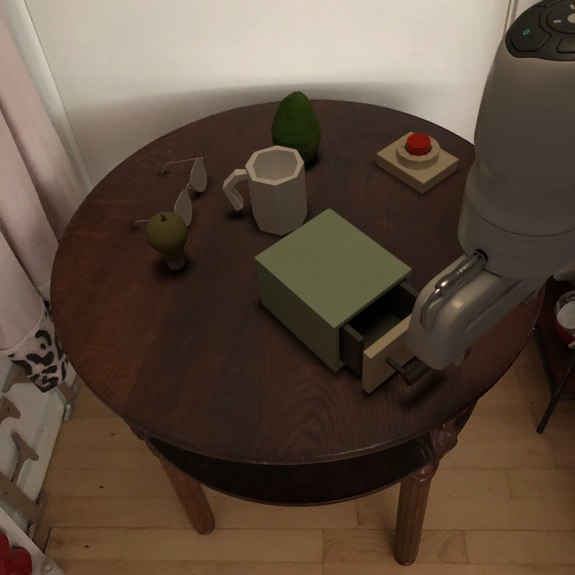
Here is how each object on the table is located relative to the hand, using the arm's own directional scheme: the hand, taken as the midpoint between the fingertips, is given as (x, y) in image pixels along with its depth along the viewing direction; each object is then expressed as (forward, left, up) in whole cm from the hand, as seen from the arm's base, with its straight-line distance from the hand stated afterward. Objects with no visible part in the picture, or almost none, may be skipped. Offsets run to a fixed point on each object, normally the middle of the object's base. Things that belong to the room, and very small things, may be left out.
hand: (490, 327), depth 57 cm
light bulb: (+43, +11, -19) cm, 48 cm away
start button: (+34, -29, -15) cm, 47 cm away
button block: (+34, -29, -19) cm, 48 cm away
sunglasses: (+55, +4, -19) cm, 58 cm away
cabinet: (+22, 0, -19) cm, 29 cm away
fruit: (+49, -17, -19) cm, 55 cm away
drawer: (+14, 0, -18) cm, 22 cm away
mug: (+42, -5, -19) cm, 46 cm away
